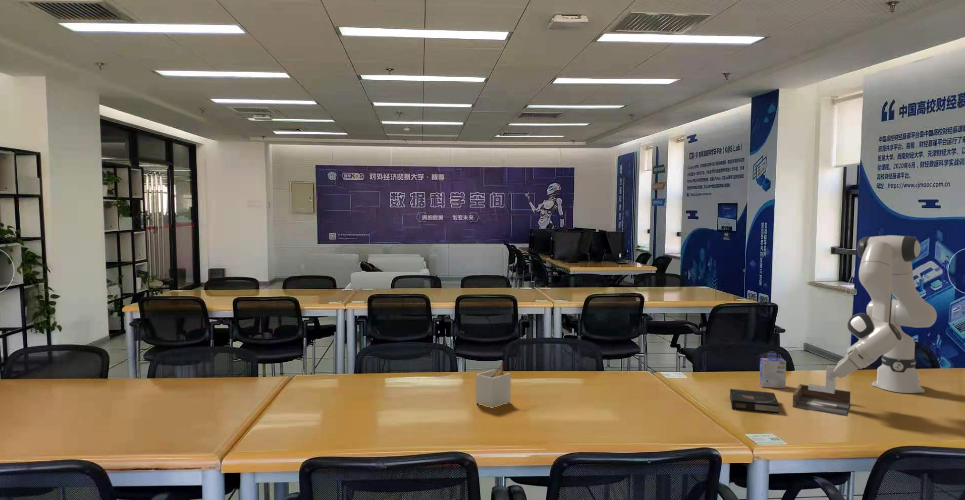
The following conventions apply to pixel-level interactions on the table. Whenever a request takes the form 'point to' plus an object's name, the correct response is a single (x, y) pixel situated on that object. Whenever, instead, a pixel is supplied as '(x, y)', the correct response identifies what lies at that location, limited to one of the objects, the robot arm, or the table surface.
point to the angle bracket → (830, 384)
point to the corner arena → (822, 400)
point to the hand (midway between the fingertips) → (829, 377)
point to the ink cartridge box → (772, 372)
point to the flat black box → (754, 401)
